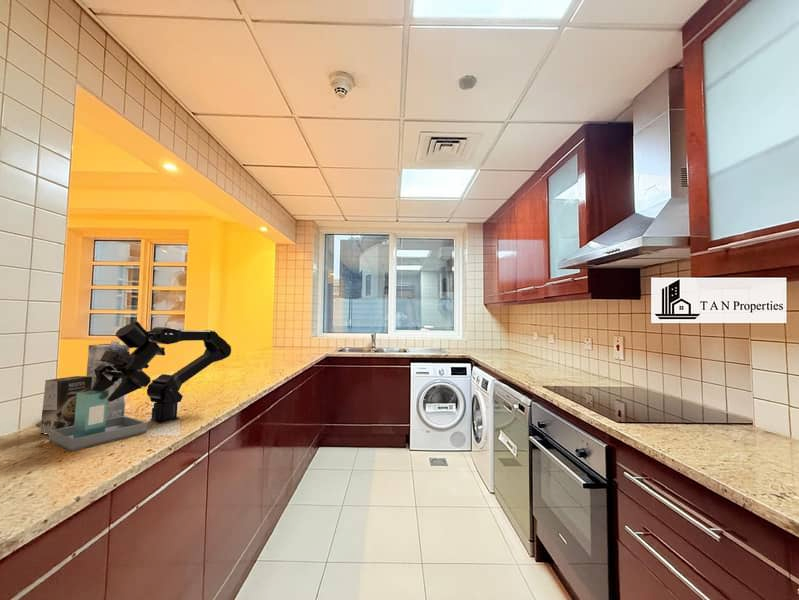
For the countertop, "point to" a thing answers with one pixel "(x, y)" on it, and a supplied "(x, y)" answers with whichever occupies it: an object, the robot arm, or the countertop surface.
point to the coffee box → (62, 401)
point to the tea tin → (90, 413)
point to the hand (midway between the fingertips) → (98, 399)
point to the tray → (113, 431)
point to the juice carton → (94, 357)
